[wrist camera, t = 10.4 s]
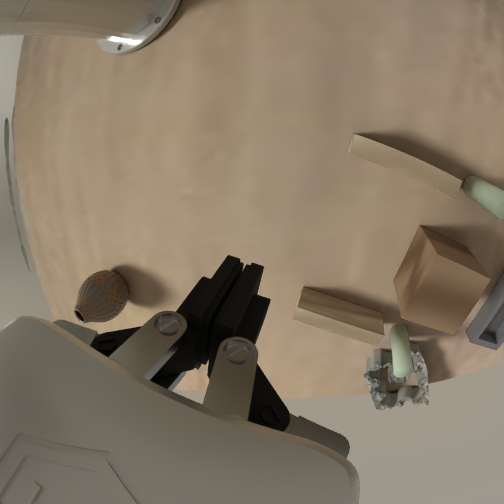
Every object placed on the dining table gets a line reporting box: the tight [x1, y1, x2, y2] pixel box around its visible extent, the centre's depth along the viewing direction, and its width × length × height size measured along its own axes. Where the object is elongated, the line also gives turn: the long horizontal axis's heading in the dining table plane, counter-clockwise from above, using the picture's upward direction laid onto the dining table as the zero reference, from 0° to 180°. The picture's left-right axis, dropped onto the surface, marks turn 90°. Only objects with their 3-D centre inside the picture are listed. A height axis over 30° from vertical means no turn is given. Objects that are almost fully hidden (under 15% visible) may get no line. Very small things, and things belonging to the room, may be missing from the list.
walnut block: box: [393, 225, 491, 335], centre depth 19 cm, size 6×6×6 cm
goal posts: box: [390, 175, 504, 378], centre depth 19 cm, size 19×2×6 cm, turn 168°
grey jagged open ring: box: [364, 342, 429, 410], centre depth 26 cm, size 11×8×4 cm
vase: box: [74, 270, 128, 323], centre depth 33 cm, size 7×7×9 cm
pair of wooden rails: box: [293, 134, 462, 346], centre depth 21 cm, size 17×9×4 cm, turn 168°
